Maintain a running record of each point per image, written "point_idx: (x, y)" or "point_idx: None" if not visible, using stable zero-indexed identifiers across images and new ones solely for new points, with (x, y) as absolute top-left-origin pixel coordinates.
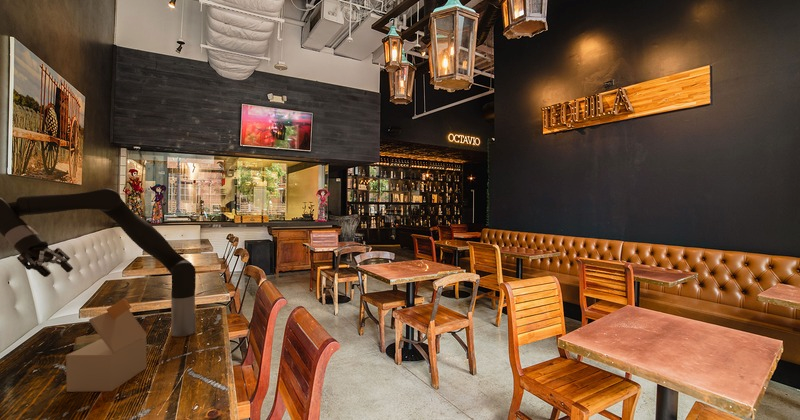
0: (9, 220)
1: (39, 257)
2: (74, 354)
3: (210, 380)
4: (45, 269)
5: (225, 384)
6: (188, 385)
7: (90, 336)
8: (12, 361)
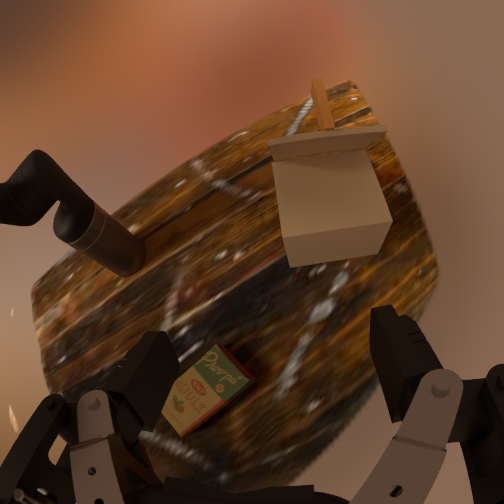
0: None
1: (431, 479)
2: (385, 209)
3: (302, 112)
4: (404, 332)
5: (307, 98)
6: None
7: (173, 406)
8: None
